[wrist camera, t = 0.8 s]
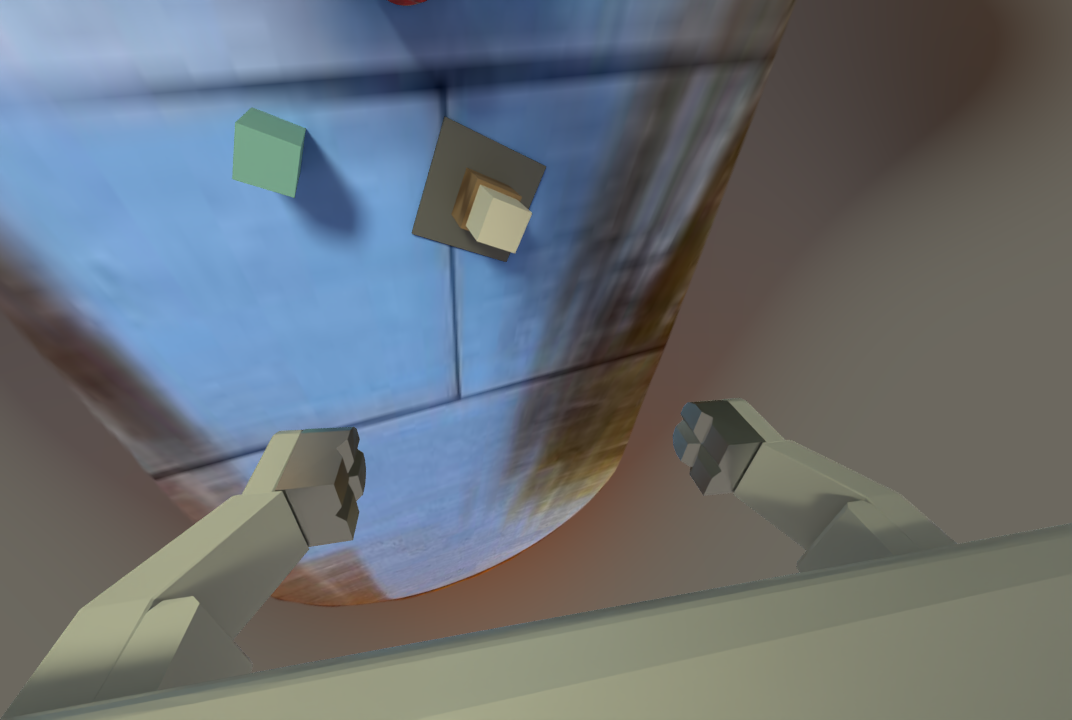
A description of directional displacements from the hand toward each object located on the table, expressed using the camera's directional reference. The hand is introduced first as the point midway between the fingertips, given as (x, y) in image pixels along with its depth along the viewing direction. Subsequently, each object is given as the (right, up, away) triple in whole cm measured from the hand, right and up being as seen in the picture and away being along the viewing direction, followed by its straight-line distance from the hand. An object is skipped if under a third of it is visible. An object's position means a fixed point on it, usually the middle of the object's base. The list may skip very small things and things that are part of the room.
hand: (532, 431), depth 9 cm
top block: (-5, +20, +37) cm, 42 cm away
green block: (-26, +24, +29) cm, 46 cm away
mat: (-7, +23, +40) cm, 47 cm away
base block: (-7, +23, +40) cm, 47 cm away
